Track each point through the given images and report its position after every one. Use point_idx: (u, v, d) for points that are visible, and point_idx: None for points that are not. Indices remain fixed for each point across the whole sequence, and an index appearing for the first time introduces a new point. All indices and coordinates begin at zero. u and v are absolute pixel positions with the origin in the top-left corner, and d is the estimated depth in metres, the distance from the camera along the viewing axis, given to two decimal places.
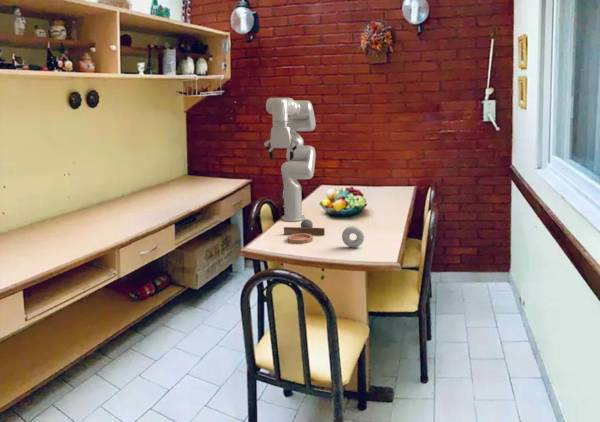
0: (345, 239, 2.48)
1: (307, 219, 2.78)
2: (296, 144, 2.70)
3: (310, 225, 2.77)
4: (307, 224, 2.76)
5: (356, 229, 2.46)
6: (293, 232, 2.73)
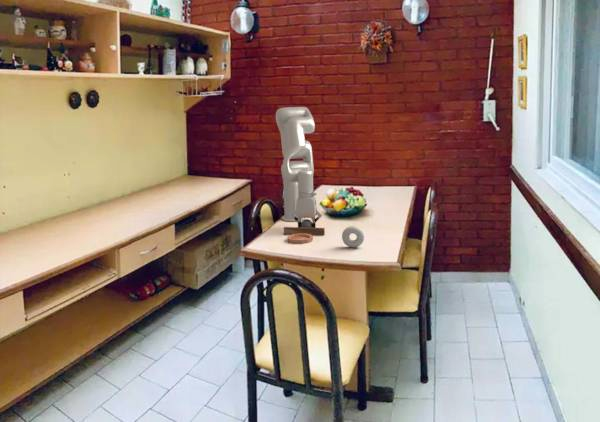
0: (345, 239, 2.48)
1: (307, 219, 2.78)
2: (319, 216, 2.76)
3: (310, 225, 2.77)
4: (307, 224, 2.76)
5: (356, 229, 2.46)
6: (293, 232, 2.73)
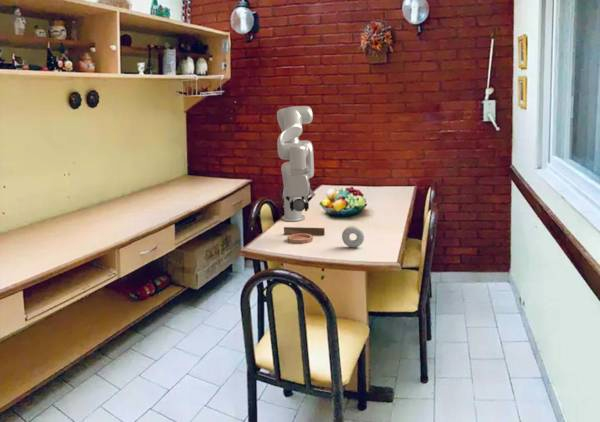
0: (345, 239, 2.48)
1: None
2: (312, 195, 2.57)
3: (303, 205, 2.57)
4: (300, 203, 2.57)
5: (356, 229, 2.46)
6: (293, 232, 2.73)
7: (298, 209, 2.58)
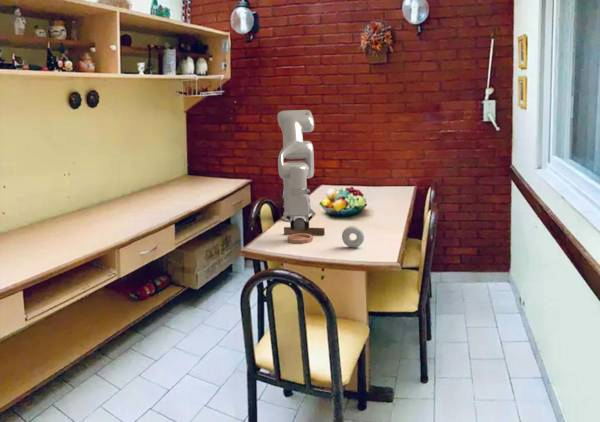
0: (345, 239, 2.48)
1: (300, 218, 2.61)
2: (313, 215, 2.59)
3: (303, 224, 2.59)
4: (300, 223, 2.58)
5: (356, 229, 2.46)
6: (293, 232, 2.73)
7: (299, 228, 2.59)
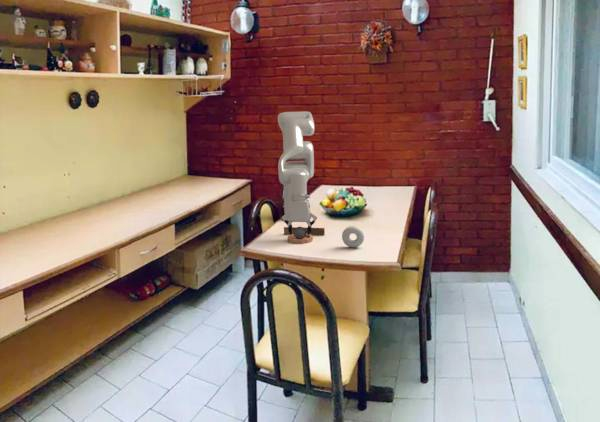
0: (345, 239, 2.48)
1: None
2: (314, 219, 2.59)
3: (303, 233, 2.60)
4: (301, 232, 2.60)
5: (356, 229, 2.46)
6: (293, 232, 2.73)
7: (299, 237, 2.61)
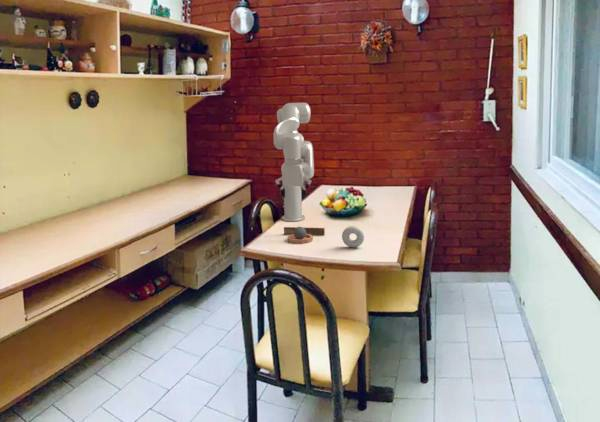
0: (345, 239, 2.48)
1: None
2: (309, 182, 2.60)
3: (303, 233, 2.60)
4: (300, 232, 2.60)
5: (356, 229, 2.46)
6: (293, 232, 2.73)
7: (299, 237, 2.61)
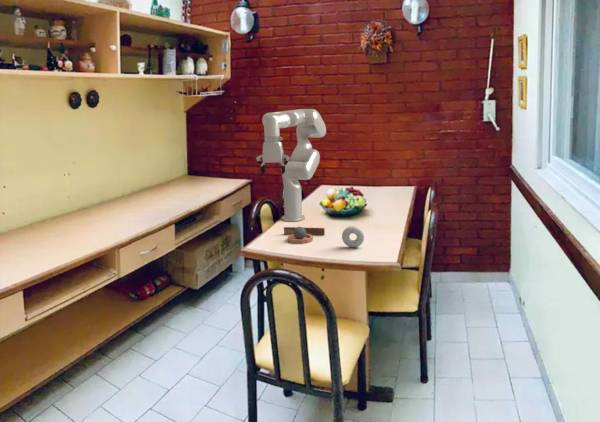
0: (345, 239, 2.48)
1: (300, 227, 2.62)
2: (287, 159, 2.77)
3: (303, 233, 2.60)
4: (300, 232, 2.60)
5: (356, 229, 2.46)
6: None
7: (299, 237, 2.61)
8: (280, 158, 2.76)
